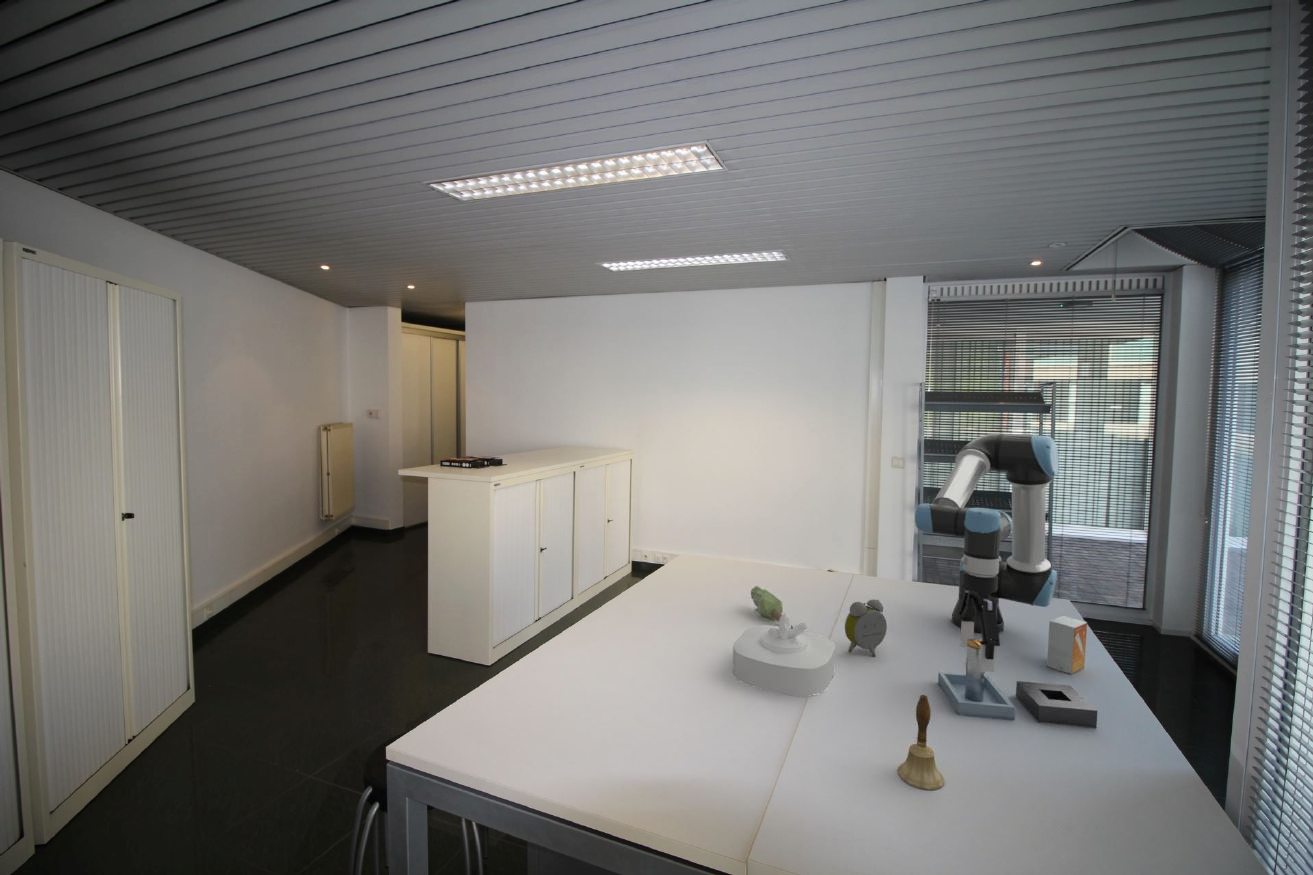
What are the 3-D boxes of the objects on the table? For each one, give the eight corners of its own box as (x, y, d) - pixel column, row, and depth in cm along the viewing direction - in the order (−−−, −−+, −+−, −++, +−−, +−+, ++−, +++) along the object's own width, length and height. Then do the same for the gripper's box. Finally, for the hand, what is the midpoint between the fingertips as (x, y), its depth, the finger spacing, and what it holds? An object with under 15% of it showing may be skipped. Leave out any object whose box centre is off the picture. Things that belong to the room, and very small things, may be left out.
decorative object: (806, 628, 189) (769, 588, 212) (790, 610, 185) (755, 572, 208) (785, 646, 189) (751, 605, 212) (770, 629, 185) (736, 589, 208)
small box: (1071, 675, 160) (1074, 627, 159) (1046, 666, 165) (1048, 620, 165) (1085, 668, 165) (1087, 621, 164) (1059, 659, 170) (1062, 614, 169)
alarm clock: (873, 645, 178) (875, 595, 177) (890, 654, 172) (893, 603, 171) (842, 650, 174) (844, 600, 173) (858, 660, 167) (860, 608, 166)
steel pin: (979, 694, 147) (982, 639, 146) (985, 702, 143) (988, 645, 143) (962, 693, 148) (964, 638, 147) (967, 701, 144) (970, 644, 143)
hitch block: (1015, 696, 148) (1016, 680, 148) (1068, 701, 146) (1069, 685, 146) (1038, 722, 136) (1039, 705, 136) (1096, 727, 134) (1097, 710, 134)
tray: (938, 682, 155) (938, 671, 154) (987, 687, 153) (988, 675, 152) (958, 714, 139) (959, 702, 139) (1014, 720, 137) (1015, 707, 137)
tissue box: (839, 663, 166) (841, 606, 165) (821, 703, 143) (823, 638, 142) (752, 645, 177) (754, 592, 176) (723, 680, 155) (724, 620, 154)
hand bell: (889, 764, 119) (893, 687, 118) (929, 762, 120) (932, 685, 119) (911, 791, 111) (914, 708, 110) (953, 789, 112) (957, 707, 111)
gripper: (947, 558, 157) (944, 636, 158) (982, 588, 132) (978, 680, 134) (978, 559, 155) (974, 638, 157) (1019, 590, 131) (1014, 683, 132)
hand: (976, 658), depth 145 cm, fingers open, 13 cm apart
